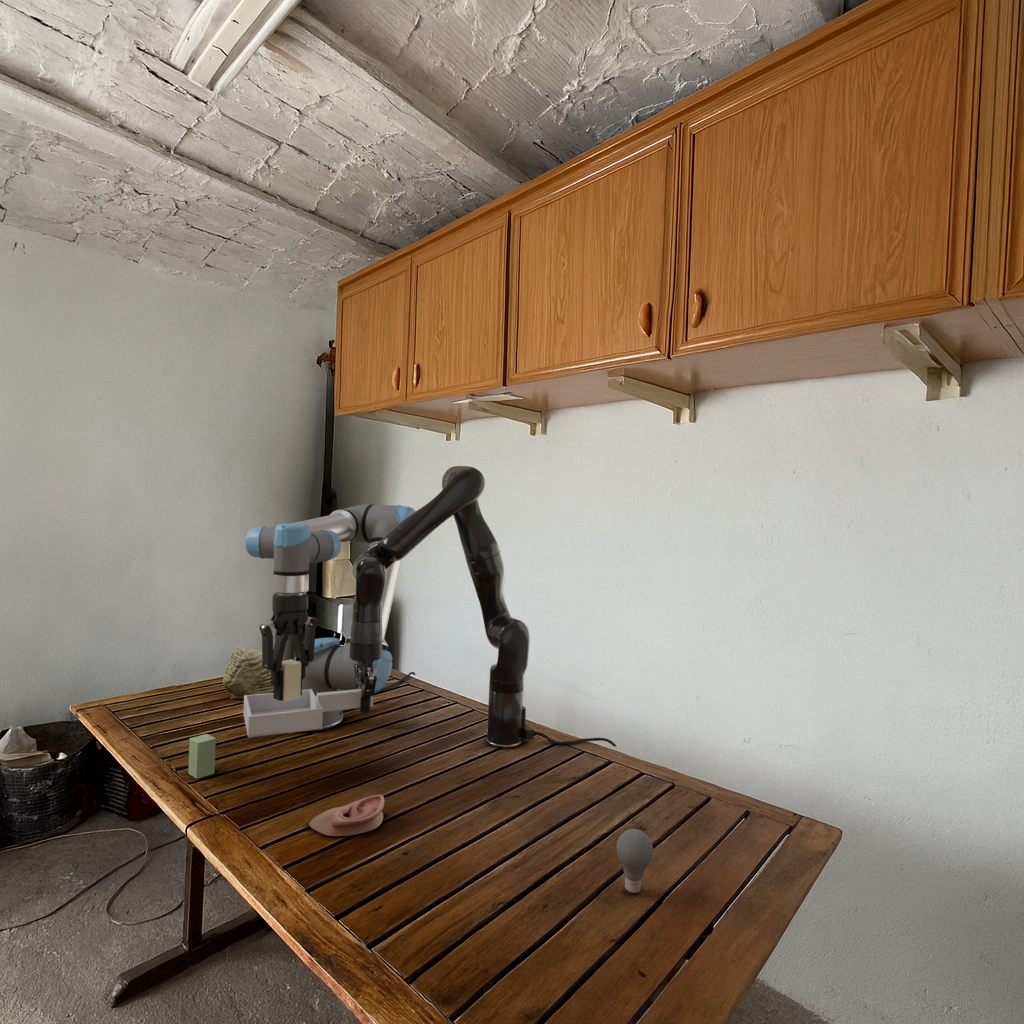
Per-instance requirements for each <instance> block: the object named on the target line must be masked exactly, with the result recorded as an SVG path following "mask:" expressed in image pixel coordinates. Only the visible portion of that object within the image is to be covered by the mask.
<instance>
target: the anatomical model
mask: <svg viewBox="0 0 1024 1024" xmlns="http://www.w3.org/2000/svg"><path fill="white" fill-rule="evenodd" d="M384 806H385V798H384V795H382V794H374V795H369V796H367V797H363V798H361V799H358V800H355V801H353V802H350V803H348V804H345V805H343V806H338V807H333V808H330V809H328V810H325V811H324V812H322V813H320V814H318V815H317V816H315V817H314V818H312V819H311V820H310V821H309V823H308V825H309V827H310V828H311V829H312V830H314V831H315V832H317V833H319V834H322V835H324V836H327V837H346V836H355V835H359V834H364V833H367V832H370V831H373V830H375V829H377V828H378V827H380V826H381V824H382V823H383V820H384V813H383V810H384Z"/></svg>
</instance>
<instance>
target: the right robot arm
mask: <svg viewBox="0 0 1024 1024" xmlns="http://www.w3.org/2000/svg"><path fill="white" fill-rule="evenodd" d="M485 487H486V479H485V477H484V475H483V473H482V472H481V471H480V470H479V469H478V468H476V467H473V466H469V465H454V466H450V467H449V468H448V469H446V470H445V472H444V474H443V475H442V478H441V488H442V490H441V491H440V492H439V493H438V494H437V495H436V496H435V497H434V498H432V499H431V500H430V501H429V502H427V503H426V504H424V505H423V506H422V507H420V508H419V509H417V510H415V511H416V512H414V513H412V514H411V515H409V516H408V517H407V518H405V519H404V520H403V521H401V522H400V523H399V524H398V525H397V526H396V527H394V528H393V529H392V530H391V531H390V532H389V533H388V534H387V535H386V536H385V537H384V538H383V539H382V540H381V541H379V542H378V543H376V544H375V545H373V546H372V547H371V548H370V547H369V548H368V549H366V550H365V551H364V552H362V553H361V554H360V555H359V556H358V557H357V558H356V559H355V561H353V564H352V568H351V569H352V570H351V571H352V575H353V577H354V578H355V595H354V598H353V601H352V609H351V610H352V612H351V613H352V614H351V624H350V631H349V632H350V634H349V636H350V658H351V659H352V660H355V661H357V664H354V670H355V683H356V685H355V687H356V688H357V689H361V694H360V696H361V701H360V708H358V710H359V711H360V713H362V714H364V713H369V712H370V711H371V707H370V696H373V697H374V695H375V694H374V691H375V686H376V681H377V676H374V674H375V667H374V666H373V662H374V661H375V660H378V659H380V658H381V656H382V634H383V628H382V598H383V594H384V588H385V580H386V569H387V568H388V567H390V566H391V565H392V564H393V563H394V562H396V561H399V560H401V559H402V560H403V559H405V557H407V556H408V555H409V554H410V553H411V552H412V551H413V550H414V549H415V548H417V547H418V546H419V545H420V544H421V543H422V542H423V541H424V540H425V539H426V538H427V537H428V536H430V534H432V533H433V532H434V531H435V530H437V529H438V528H439V527H440V526H441V525H442V524H444V523H445V522H446V521H447V520H448V519H450V518H451V517H452V516H453V518H454V522H455V524H456V527H457V532H458V536H459V539H460V543H461V546H462V551H463V553H464V559H465V562H466V564H467V568H468V571H469V574H470V577H471V580H472V583H473V587H474V590H475V593H476V596H477V599H478V602H479V606H480V609H481V615H482V619H483V626H484V630H485V635H486V638H487V640H488V642H489V644H490V645H491V646H492V647H493V648H495V649H496V650H498V651H497V662H496V663H494V664H492V665H491V666H490V668H489V681H488V682H489V683H488V703H487V705H488V708H487V723H486V727H485V728H486V743H487V744H488V745H489V746H492V747H494V748H501V749H512V748H517V747H519V746H520V745H522V744H525V740H526V741H531V740H534V739H535V735H538V736H541V737H543V738H544V739H546V741H548V742H549V743H551V744H554V745H560V746H561V745H575V744H578V743H583V742H599V741H600V742H606V743H609V744H610V745H611V746H612V747H617V744H616V743H615V742H613V741H612V740H611V739H609V738H605V737H590V738H589V737H588V738H578V739H574V740H564V741H557V740H554V739H551V738H550V737H549V736H548V735H547V734H545V733H544V732H540V731H538V730H535V729H534V728H533V727H531V726H530V725H528V724H527V723H526V719H527V718H526V717H527V715H526V714H527V708H526V707H525V706H524V693H525V692H524V690H525V674H526V673H525V672H526V671H527V668H528V665H529V658H530V657H529V655H530V645H531V634H530V629H529V627H528V625H527V624H526V623H525V622H524V621H522V620H520V619H518V618H515V617H513V616H512V614H511V612H510V610H509V608H508V604H507V602H506V598H505V580H506V567H505V562H504V559H503V555H502V552H501V549H500V546H499V544H498V541H497V539H496V537H495V535H494V533H493V531H492V530H491V528H490V527H489V524H488V523H487V522H486V519H485V518H484V516H483V514H482V511H481V508H480V505H479V500H478V499H479V498H480V497H481V495H482V494H483V492H484V491H485ZM407 554H408V555H407ZM367 690H369V691H367Z"/></svg>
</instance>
